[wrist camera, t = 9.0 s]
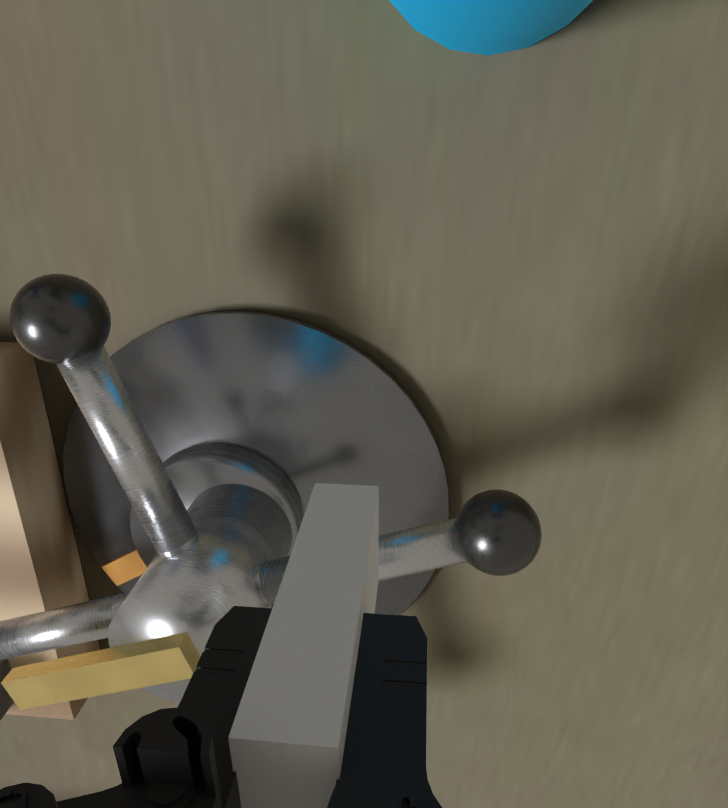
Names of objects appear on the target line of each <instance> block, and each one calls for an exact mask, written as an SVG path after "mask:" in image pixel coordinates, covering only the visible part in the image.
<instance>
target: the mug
mask: <svg viewBox="0 0 728 808" xmlns="http://www.w3.org/2000/svg"><path fill="white" fill-rule="evenodd" d="M592 1H593V0H390V2H391V3H392V4H393V5H394V6H395V7H396V9H397V10H398V11H399V12H400V13H401V14H402V15H403V17H404V18H405V19H406V20H407V21H408V22H409V24H410V25H411V26H412V27H413V28H414V29H415V30H416V31H418V32H420V33H422V34H424V35H425V36H427V37H429V38H431V39H432V40H434V41H436V42H438V43H439V44H441V45H443V46H445V47H446V48H448V49H451V50H458V51H464V52H471V53H477V54H483V55H492V54H497V53H502V52H507V51H512V50H517V49H522V48H527V47H530V46H532V45H534V44H535V43H537V42H539V41H541V40H542V39H544V38H546V37H548V36H549V35H551V34H553V33H555V32H556V31H558V30H560V29H562V28H563V27H565V26H567V25H568V24H569V23H570V22H571V21H572V20H573V19H574V18H575V17H577V16H578V15H579V14H580V13H581V12H582V11H583V10H584V9H585V8H586V7H587V6H588V5H589V4H590V3H591V2H592Z"/></svg>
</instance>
